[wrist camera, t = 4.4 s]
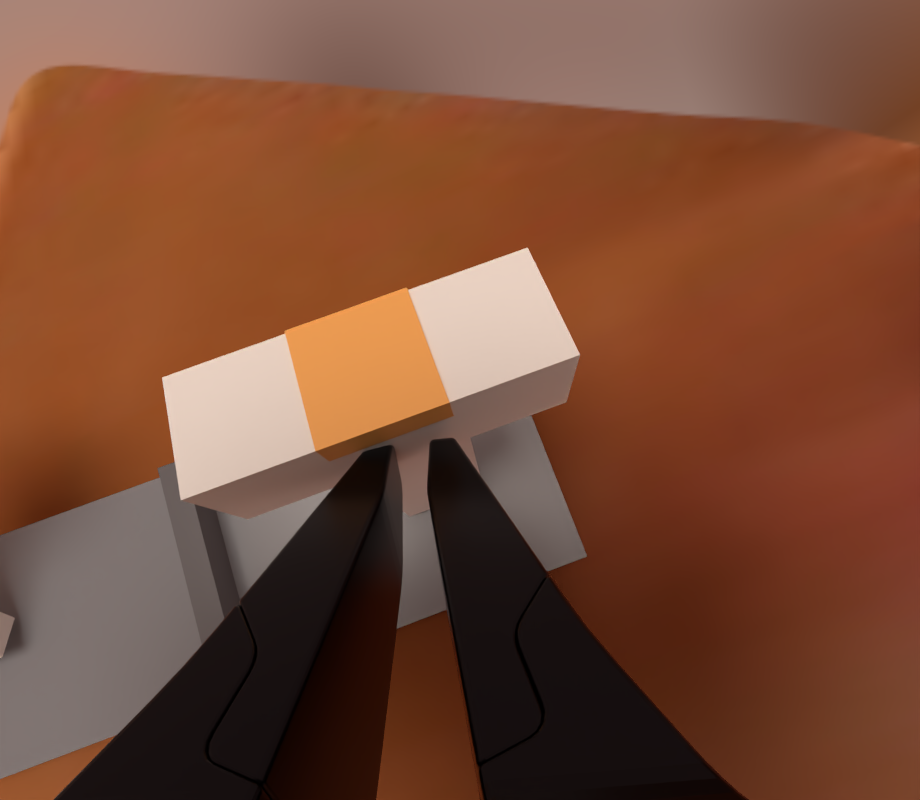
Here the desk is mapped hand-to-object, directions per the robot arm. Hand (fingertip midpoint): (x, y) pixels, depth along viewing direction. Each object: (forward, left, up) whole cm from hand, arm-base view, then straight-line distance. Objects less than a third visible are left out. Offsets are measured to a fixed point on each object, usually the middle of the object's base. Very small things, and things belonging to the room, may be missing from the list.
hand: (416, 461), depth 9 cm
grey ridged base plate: (0, +8, -11) cm, 14 cm away
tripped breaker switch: (0, 0, -8) cm, 8 cm away
